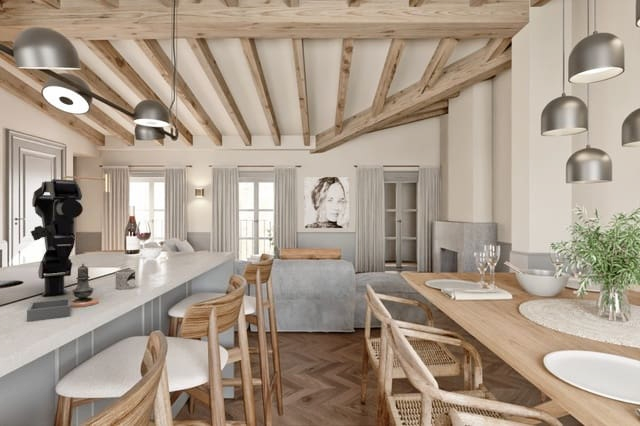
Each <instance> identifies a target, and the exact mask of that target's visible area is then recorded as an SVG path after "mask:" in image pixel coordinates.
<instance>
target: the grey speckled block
mask: <svg viewBox="0 0 640 426" xmlns="http://www.w3.org/2000/svg"><path fill="white" fill-rule="evenodd" d="M135 288H136V270H135V269H120V270H116V271H115V290H118V291H126V290H127V291H128V290H133V289H135Z"/></svg>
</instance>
